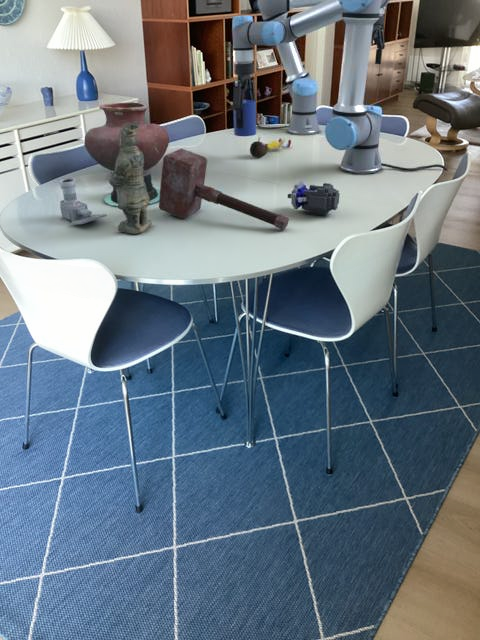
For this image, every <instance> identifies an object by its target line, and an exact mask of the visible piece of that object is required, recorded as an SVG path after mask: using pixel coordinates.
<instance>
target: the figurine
mask: <svg viewBox="0 0 480 640" xmlns="http://www.w3.org/2000/svg"><path fill="white" fill-rule="evenodd" d="M261 138H262V136H261V135H258V138H257V140H256V141H253V142H252V143H251V144H250V147H249V153H250V155H251V156H252V157H253V158H262V157H264V156H266V154H267V152H268V151H277V150H280V148H290V147H291V144H292V140H291V139H289V140H288V141H287V143H286V139H285V138H279V139H278V141H276V140H274V141H273V140H272V141H271V142H268V143H264V142H262V141H261Z"/></svg>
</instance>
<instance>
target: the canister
mask: <svg viewBox="0 0 480 640" xmlns="http://www.w3.org/2000/svg"><path fill="white" fill-rule="evenodd" d="M256 104H257V100H256V101H254V100H246V99H243V105H242V110H243V125H244V128H236V110H233V109H232V110H233V135H234V136H236V137H253V136H255V135H257V125H256V123H257V105H256Z"/></svg>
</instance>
